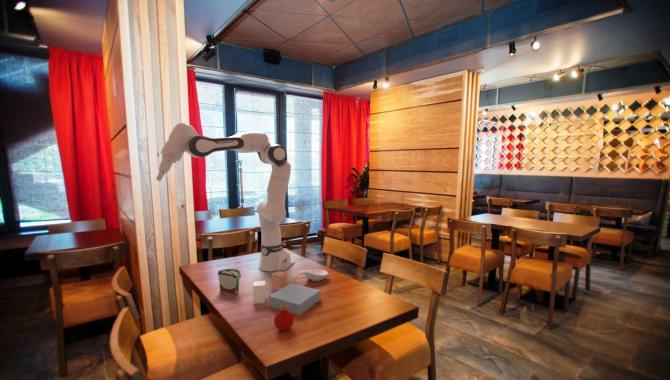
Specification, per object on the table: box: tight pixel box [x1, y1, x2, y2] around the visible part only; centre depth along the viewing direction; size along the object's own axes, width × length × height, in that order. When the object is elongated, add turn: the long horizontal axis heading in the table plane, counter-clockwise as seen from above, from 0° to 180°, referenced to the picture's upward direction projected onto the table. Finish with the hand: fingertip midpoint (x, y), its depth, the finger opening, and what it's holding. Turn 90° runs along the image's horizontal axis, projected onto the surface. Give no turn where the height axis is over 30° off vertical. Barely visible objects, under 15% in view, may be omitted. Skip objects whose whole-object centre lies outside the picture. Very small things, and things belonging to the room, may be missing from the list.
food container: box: [217, 268, 242, 296], centre depth 141 cm, size 12×6×10 cm, turn 65°
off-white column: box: [252, 280, 266, 305], centre depth 132 cm, size 5×5×8 cm
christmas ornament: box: [273, 303, 295, 332], centre depth 109 cm, size 7×7×10 cm
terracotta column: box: [271, 270, 288, 292], centre depth 144 cm, size 5×5×8 cm
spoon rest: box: [287, 268, 329, 285], centre depth 154 cm, size 24×12×7 cm, turn 138°
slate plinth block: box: [267, 283, 321, 316], centre depth 130 cm, size 16×16×5 cm
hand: (158, 180), depth 139 cm, fingers open, 8 cm apart
